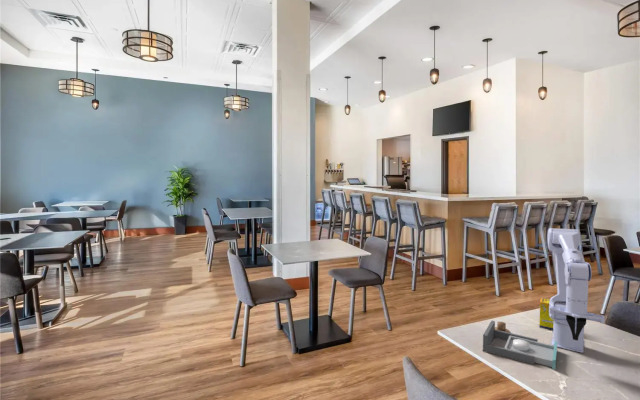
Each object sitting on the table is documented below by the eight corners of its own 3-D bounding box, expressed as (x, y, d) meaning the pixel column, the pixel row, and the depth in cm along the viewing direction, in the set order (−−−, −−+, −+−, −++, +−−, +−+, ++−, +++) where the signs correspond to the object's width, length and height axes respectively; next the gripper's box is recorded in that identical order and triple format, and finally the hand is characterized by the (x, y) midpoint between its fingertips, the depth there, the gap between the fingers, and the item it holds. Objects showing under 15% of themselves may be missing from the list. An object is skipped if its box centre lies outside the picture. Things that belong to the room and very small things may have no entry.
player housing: (537, 346, 127) (537, 330, 127) (533, 364, 114) (534, 347, 114) (491, 335, 136) (491, 320, 136) (482, 351, 123) (483, 334, 123)
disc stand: (510, 330, 140) (510, 322, 140) (508, 336, 135) (508, 327, 135) (494, 327, 144) (494, 319, 144) (491, 332, 139) (492, 323, 139)
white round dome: (530, 347, 124) (530, 341, 124) (528, 353, 120) (529, 347, 119) (513, 343, 127) (513, 337, 127) (512, 348, 123) (512, 343, 122)
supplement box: (539, 322, 148) (540, 297, 148) (556, 325, 145) (557, 300, 144) (538, 327, 144) (539, 301, 143) (556, 330, 140) (557, 304, 140)
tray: (557, 350, 123) (557, 341, 123) (555, 369, 111) (555, 360, 110) (510, 339, 132) (510, 330, 132) (503, 356, 120) (503, 347, 119)
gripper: (549, 297, 114) (548, 337, 115) (606, 307, 105) (604, 349, 106) (550, 292, 120) (549, 330, 120) (604, 300, 111) (602, 341, 112)
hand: (575, 338), depth 114 cm, fingers closed
